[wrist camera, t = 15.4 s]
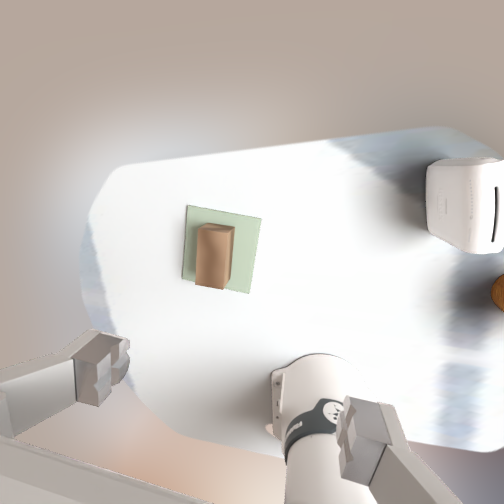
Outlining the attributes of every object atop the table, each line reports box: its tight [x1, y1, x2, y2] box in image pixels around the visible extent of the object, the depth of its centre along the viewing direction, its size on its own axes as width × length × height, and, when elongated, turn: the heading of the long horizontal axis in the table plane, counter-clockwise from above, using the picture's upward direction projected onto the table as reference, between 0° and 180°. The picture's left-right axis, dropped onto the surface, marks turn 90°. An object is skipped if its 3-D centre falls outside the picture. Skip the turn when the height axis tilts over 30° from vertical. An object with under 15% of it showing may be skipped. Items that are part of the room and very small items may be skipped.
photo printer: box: [426, 157, 504, 254], centre depth 33 cm, size 10×4×12 cm, turn 10°
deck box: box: [195, 223, 235, 290], centre depth 44 cm, size 4×9×4 cm, turn 173°
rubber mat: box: [182, 205, 261, 294], centre depth 47 cm, size 13×12×1 cm
